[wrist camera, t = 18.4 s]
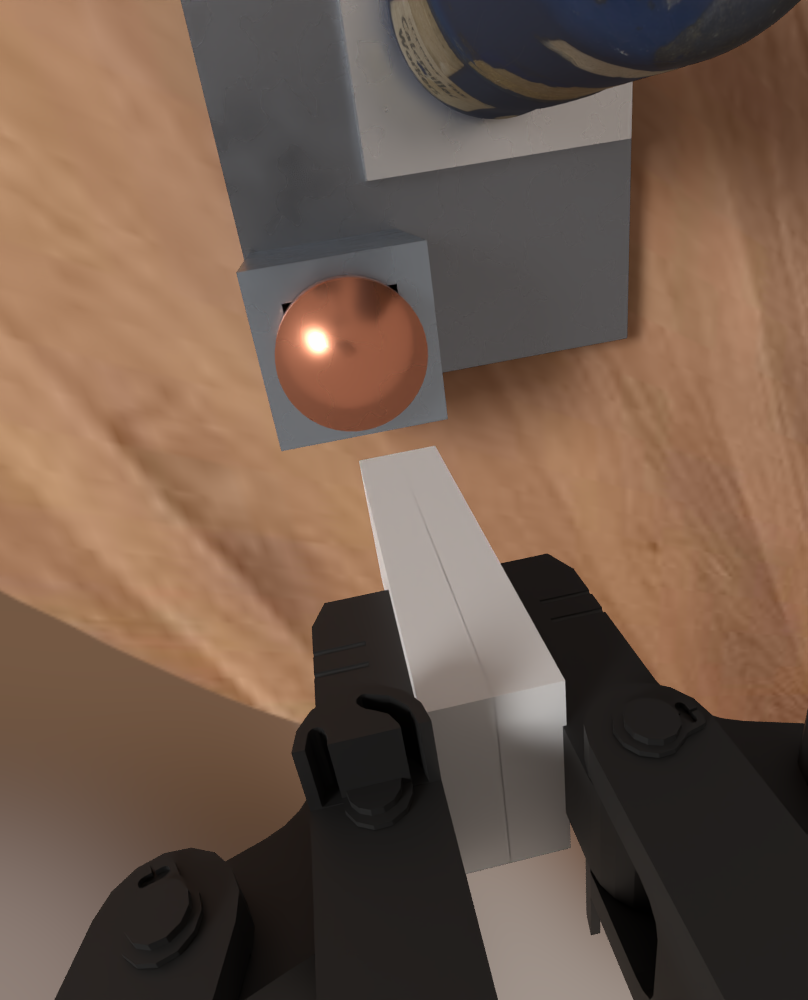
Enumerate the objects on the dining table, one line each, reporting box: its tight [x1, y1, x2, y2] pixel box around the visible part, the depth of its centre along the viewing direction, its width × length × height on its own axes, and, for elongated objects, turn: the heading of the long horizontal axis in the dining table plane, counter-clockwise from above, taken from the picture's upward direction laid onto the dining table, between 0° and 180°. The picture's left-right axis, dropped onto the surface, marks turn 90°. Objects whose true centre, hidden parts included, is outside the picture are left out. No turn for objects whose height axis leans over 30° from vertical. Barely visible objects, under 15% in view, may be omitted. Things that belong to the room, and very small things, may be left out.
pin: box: [275, 275, 428, 431], centre depth 29 cm, size 6×6×9 cm
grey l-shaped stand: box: [181, 0, 633, 451], centre depth 27 cm, size 22×20×10 cm
